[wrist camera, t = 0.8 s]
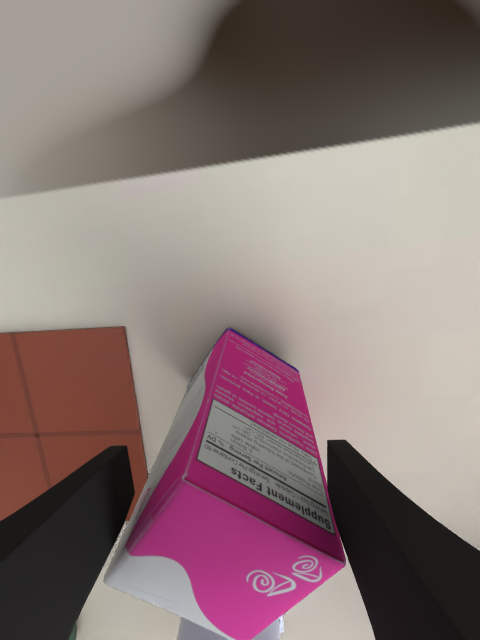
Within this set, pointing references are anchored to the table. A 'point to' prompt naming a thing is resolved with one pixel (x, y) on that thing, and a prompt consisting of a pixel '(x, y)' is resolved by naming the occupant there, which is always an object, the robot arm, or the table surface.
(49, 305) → the table surface
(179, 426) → the supplement box
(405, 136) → the table surface
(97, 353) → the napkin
